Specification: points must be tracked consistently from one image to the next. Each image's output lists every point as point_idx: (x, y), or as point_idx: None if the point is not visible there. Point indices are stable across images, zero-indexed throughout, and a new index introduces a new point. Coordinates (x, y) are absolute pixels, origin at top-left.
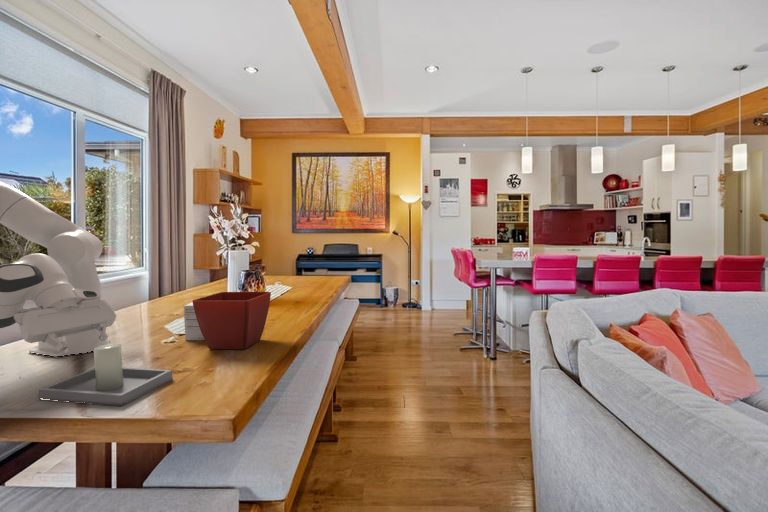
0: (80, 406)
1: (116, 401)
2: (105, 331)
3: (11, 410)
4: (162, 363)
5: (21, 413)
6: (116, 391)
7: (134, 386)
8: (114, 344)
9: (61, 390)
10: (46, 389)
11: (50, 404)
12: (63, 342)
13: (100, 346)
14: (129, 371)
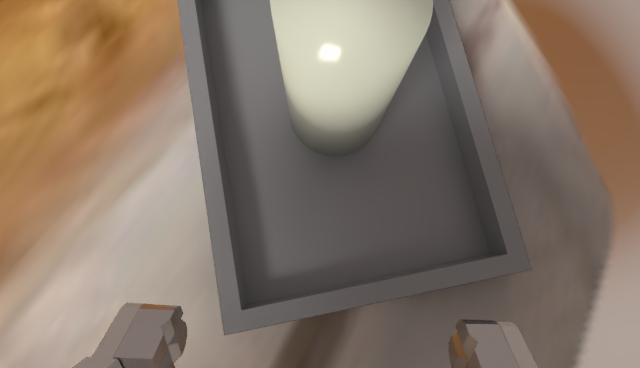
0: None
1: None
2: (83, 360)
3: (593, 261)
4: (31, 188)
5: (585, 197)
6: None
7: None
8: (294, 7)
9: (491, 162)
10: (514, 237)
11: None
12: (496, 359)
13: (363, 55)
14: (218, 143)
